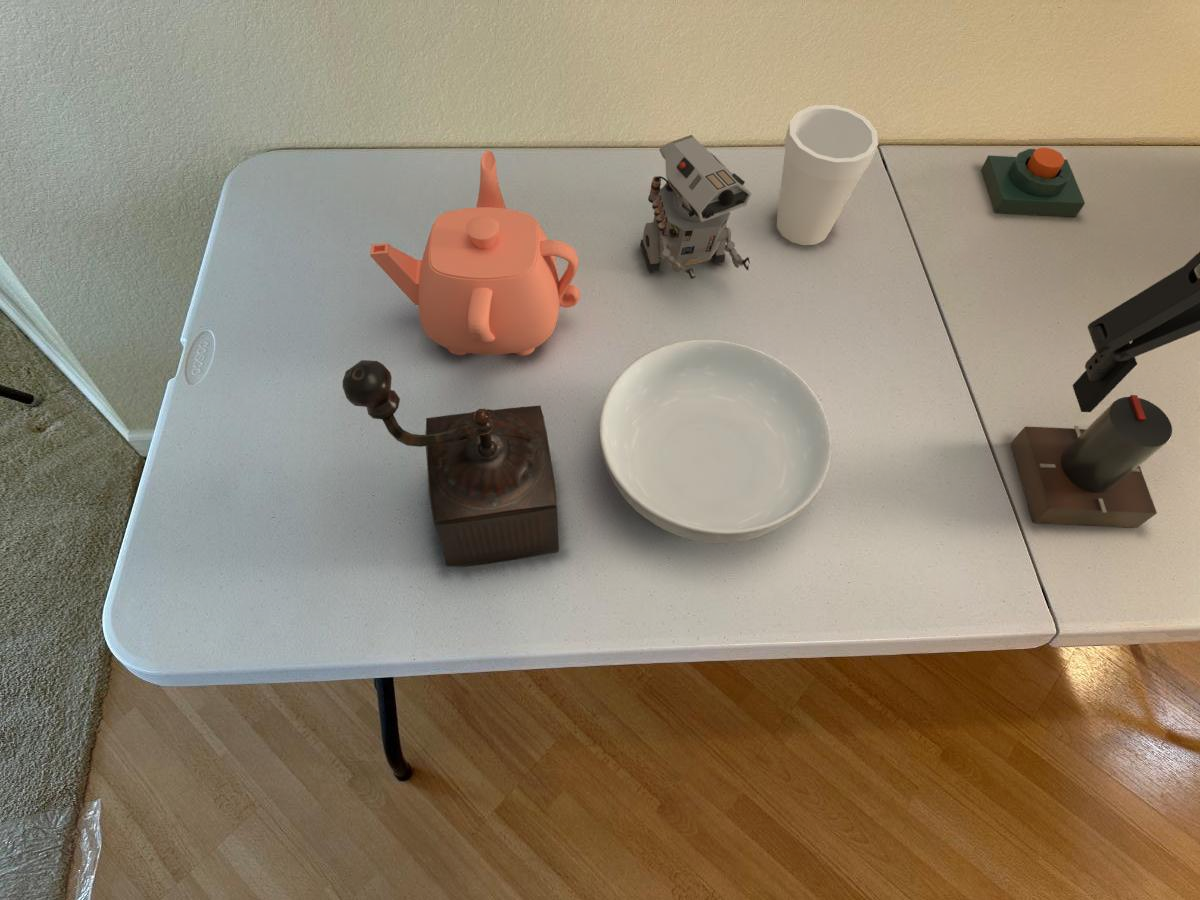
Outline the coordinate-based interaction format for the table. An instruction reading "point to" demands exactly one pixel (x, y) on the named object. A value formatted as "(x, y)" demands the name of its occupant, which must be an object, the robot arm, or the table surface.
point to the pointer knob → (1116, 443)
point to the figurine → (692, 209)
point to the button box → (1030, 188)
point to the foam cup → (821, 169)
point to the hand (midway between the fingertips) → (1162, 402)
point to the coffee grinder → (476, 473)
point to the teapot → (485, 276)
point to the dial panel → (1074, 485)
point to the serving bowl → (714, 440)
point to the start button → (1045, 162)
